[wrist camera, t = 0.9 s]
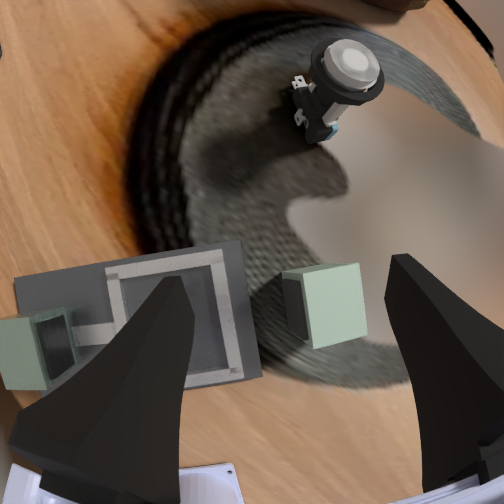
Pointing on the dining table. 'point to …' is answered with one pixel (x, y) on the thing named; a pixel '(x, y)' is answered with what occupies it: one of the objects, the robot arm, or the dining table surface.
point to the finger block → (325, 303)
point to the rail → (129, 316)
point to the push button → (335, 86)
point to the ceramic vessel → (399, 4)
